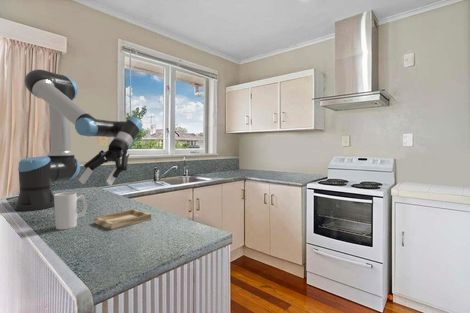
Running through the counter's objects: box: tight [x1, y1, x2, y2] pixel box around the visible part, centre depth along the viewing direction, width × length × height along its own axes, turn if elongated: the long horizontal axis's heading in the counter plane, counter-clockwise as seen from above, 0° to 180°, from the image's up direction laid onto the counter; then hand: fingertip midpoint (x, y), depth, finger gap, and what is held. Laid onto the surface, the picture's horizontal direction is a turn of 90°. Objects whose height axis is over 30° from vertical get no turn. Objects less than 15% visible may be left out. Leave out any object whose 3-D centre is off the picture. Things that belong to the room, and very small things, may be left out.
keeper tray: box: [94, 209, 152, 231], centre depth 99 cm, size 13×16×2 cm
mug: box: [53, 191, 88, 231], centre depth 93 cm, size 10×7×12 cm, turn 129°
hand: (94, 182), depth 102 cm, fingers open, 13 cm apart
